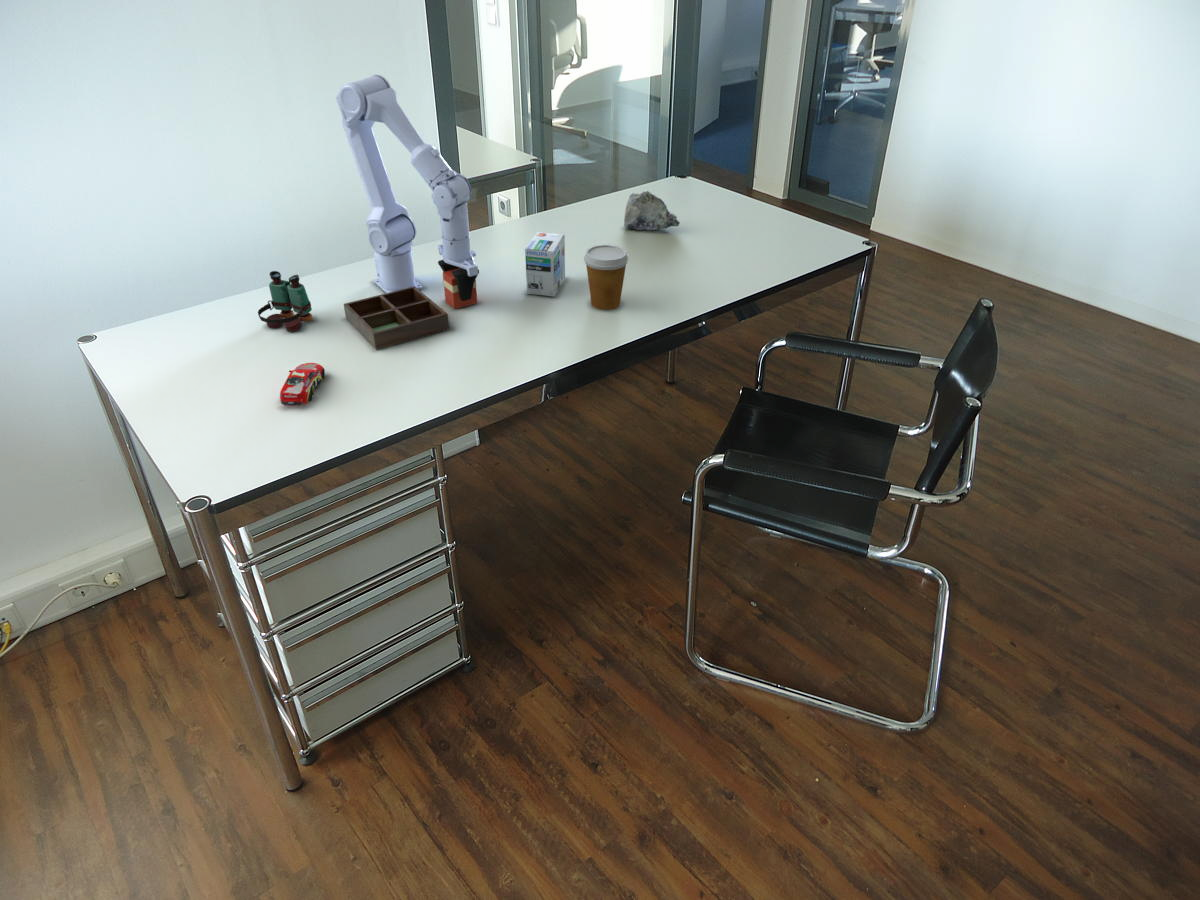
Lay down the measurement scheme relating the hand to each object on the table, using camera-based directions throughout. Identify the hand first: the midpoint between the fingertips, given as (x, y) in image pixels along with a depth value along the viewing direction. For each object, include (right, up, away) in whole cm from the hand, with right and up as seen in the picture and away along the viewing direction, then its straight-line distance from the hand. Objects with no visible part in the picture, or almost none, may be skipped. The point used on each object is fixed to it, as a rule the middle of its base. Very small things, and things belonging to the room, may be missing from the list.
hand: (460, 295), depth 187 cm
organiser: (-12, -7, -8) cm, 16 cm away
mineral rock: (+43, +24, +38) cm, 62 cm away
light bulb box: (+18, +3, +8) cm, 20 cm away
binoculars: (-34, -8, -9) cm, 36 cm away
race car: (-24, -23, -29) cm, 44 cm away
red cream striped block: (0, -1, +1) cm, 2 cm away
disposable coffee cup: (+32, -2, +1) cm, 32 cm away
